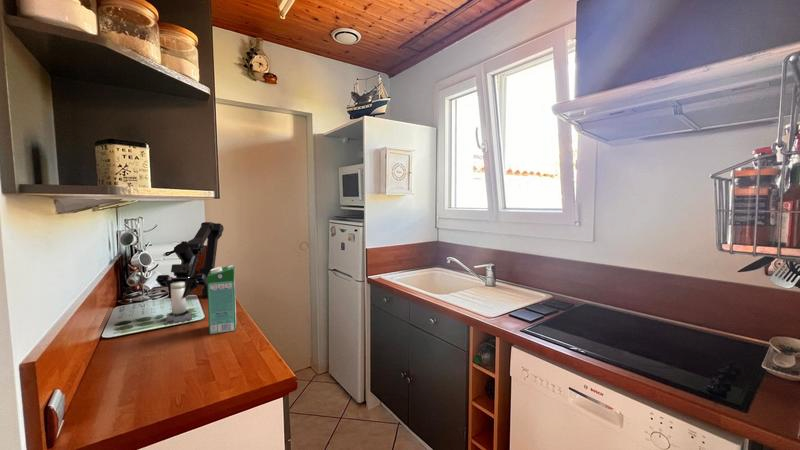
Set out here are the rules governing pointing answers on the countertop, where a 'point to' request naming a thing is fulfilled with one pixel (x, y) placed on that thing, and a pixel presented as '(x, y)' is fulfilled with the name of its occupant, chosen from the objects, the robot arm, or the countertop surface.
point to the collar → (179, 317)
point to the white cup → (178, 297)
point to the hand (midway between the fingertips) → (176, 297)
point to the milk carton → (221, 299)
